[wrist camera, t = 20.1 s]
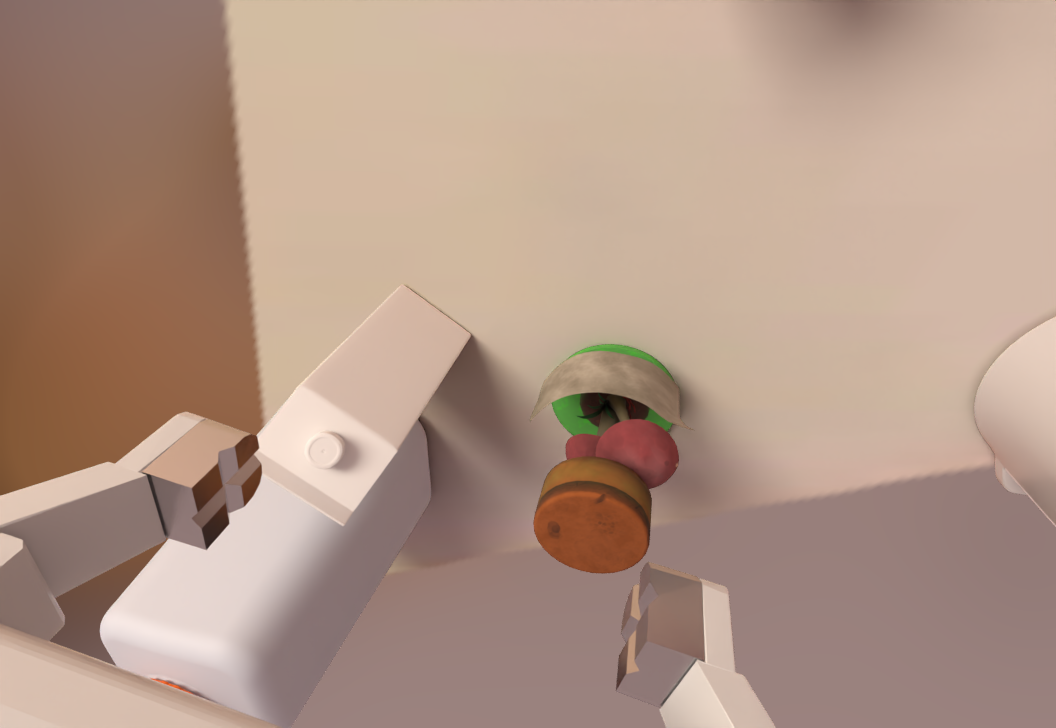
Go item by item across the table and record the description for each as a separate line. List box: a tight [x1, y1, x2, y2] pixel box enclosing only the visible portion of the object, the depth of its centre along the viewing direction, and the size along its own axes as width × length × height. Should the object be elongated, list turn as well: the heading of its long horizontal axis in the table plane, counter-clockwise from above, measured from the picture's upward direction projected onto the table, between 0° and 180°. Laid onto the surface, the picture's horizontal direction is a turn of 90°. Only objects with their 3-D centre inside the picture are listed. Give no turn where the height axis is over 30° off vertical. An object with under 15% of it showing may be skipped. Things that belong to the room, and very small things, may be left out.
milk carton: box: [254, 285, 471, 526], centre depth 40 cm, size 7×7×19 cm
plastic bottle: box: [100, 398, 431, 728], centre depth 46 cm, size 15×15×28 cm
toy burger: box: [529, 344, 695, 573], centre depth 40 cm, size 12×13×15 cm
